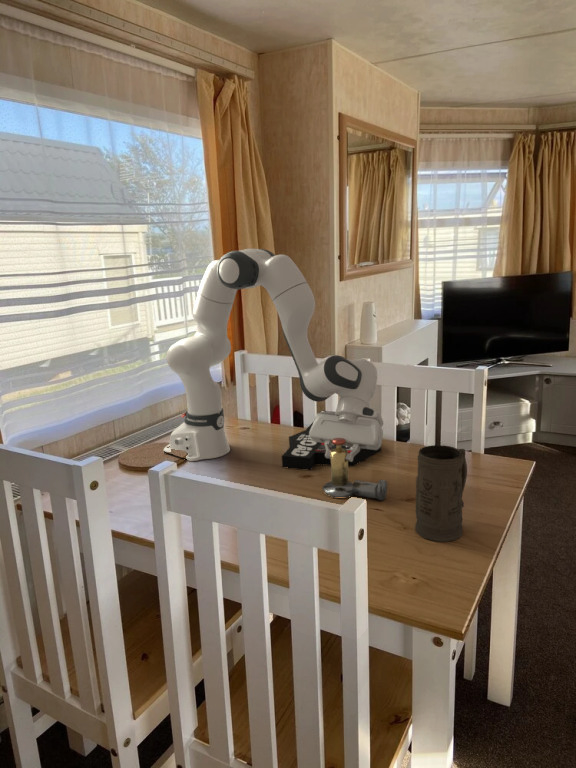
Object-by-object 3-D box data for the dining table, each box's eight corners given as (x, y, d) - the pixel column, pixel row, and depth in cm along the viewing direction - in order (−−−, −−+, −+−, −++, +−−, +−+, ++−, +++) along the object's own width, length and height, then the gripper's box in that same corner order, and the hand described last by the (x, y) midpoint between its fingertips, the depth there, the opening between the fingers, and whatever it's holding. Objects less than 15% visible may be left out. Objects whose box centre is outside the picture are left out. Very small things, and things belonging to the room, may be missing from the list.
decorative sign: (277, 470, 174) (377, 474, 167) (276, 457, 173) (377, 460, 166) (298, 432, 206) (383, 434, 200) (298, 421, 205) (383, 423, 199)
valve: (328, 484, 155) (327, 441, 152) (335, 477, 159) (334, 436, 156) (344, 486, 153) (343, 444, 150) (351, 480, 157) (350, 438, 154)
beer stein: (448, 548, 126) (454, 461, 122) (405, 534, 133) (408, 451, 129) (477, 525, 137) (483, 445, 133) (435, 513, 144) (440, 436, 140)
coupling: (317, 495, 155) (317, 477, 153) (331, 482, 162) (331, 465, 161) (378, 506, 147) (378, 487, 145) (389, 492, 154) (389, 474, 153)
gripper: (314, 404, 162) (299, 449, 156) (383, 411, 152) (370, 459, 146) (321, 415, 167) (307, 458, 161) (389, 422, 157) (377, 469, 151)
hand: (338, 459), depth 153 cm, fingers closed on valve, 5 cm apart
